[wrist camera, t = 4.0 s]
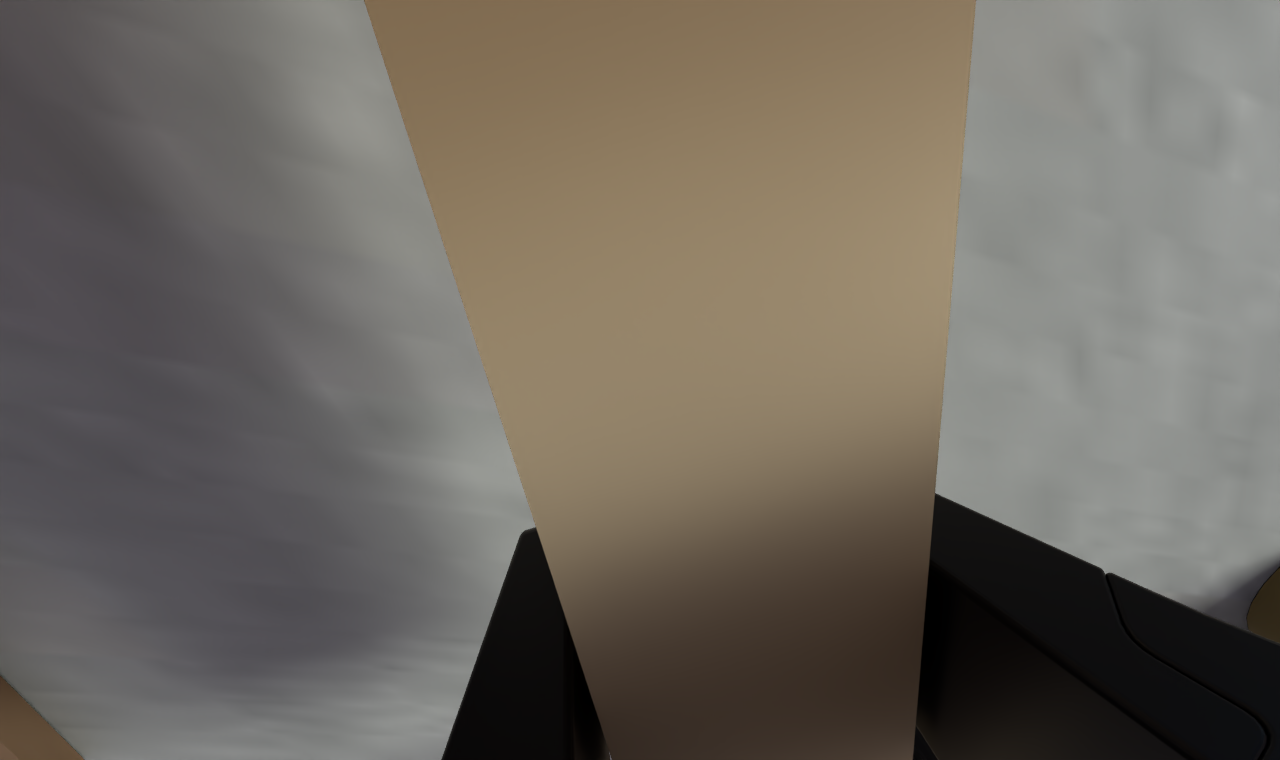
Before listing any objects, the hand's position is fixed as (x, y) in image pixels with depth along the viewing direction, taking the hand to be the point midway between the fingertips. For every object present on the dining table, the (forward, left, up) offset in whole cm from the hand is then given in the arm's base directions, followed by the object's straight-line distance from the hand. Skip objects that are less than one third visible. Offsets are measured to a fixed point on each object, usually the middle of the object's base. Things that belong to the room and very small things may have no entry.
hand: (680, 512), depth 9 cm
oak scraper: (0, 0, -1) cm, 1 cm away
